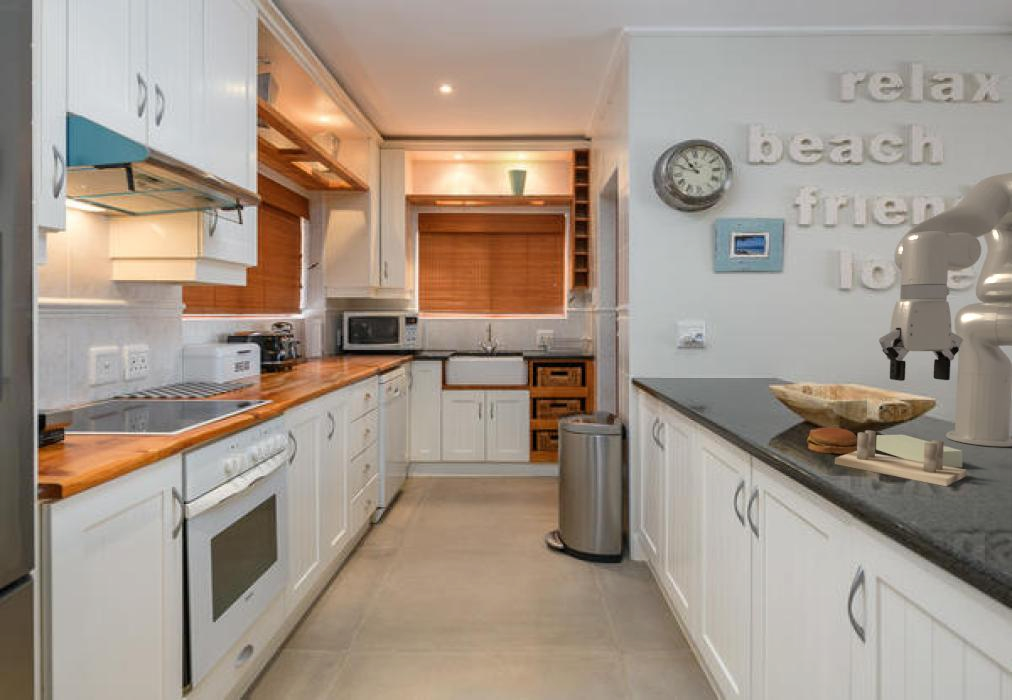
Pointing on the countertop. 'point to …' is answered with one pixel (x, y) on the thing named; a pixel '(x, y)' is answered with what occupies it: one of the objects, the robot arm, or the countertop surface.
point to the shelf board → (915, 449)
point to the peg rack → (902, 462)
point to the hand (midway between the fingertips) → (919, 379)
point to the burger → (832, 441)
